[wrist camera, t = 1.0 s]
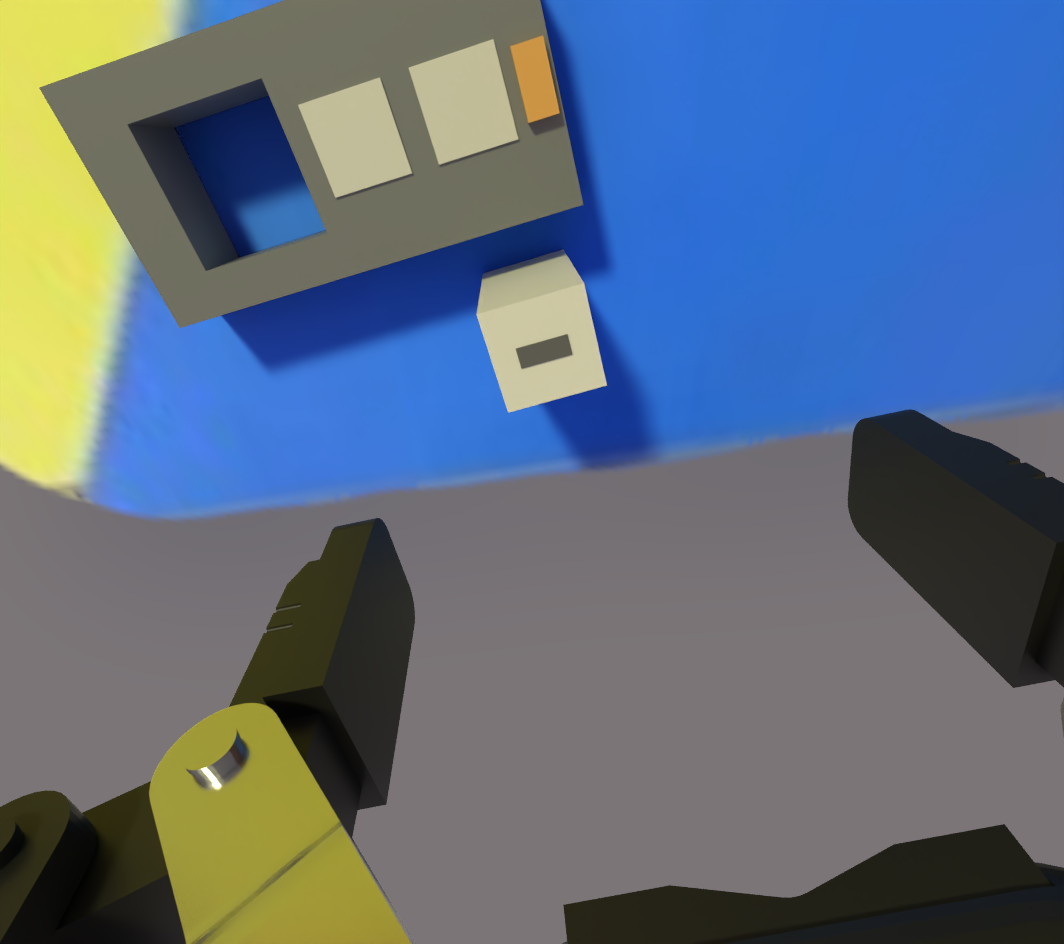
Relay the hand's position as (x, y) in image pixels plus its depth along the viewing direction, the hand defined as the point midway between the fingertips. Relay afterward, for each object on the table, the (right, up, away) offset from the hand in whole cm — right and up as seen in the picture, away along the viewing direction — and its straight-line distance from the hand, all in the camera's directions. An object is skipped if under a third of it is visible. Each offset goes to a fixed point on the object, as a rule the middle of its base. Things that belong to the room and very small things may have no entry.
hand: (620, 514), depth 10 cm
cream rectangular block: (-1, +9, +19) cm, 21 cm away
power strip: (-9, +15, +15) cm, 23 cm away
